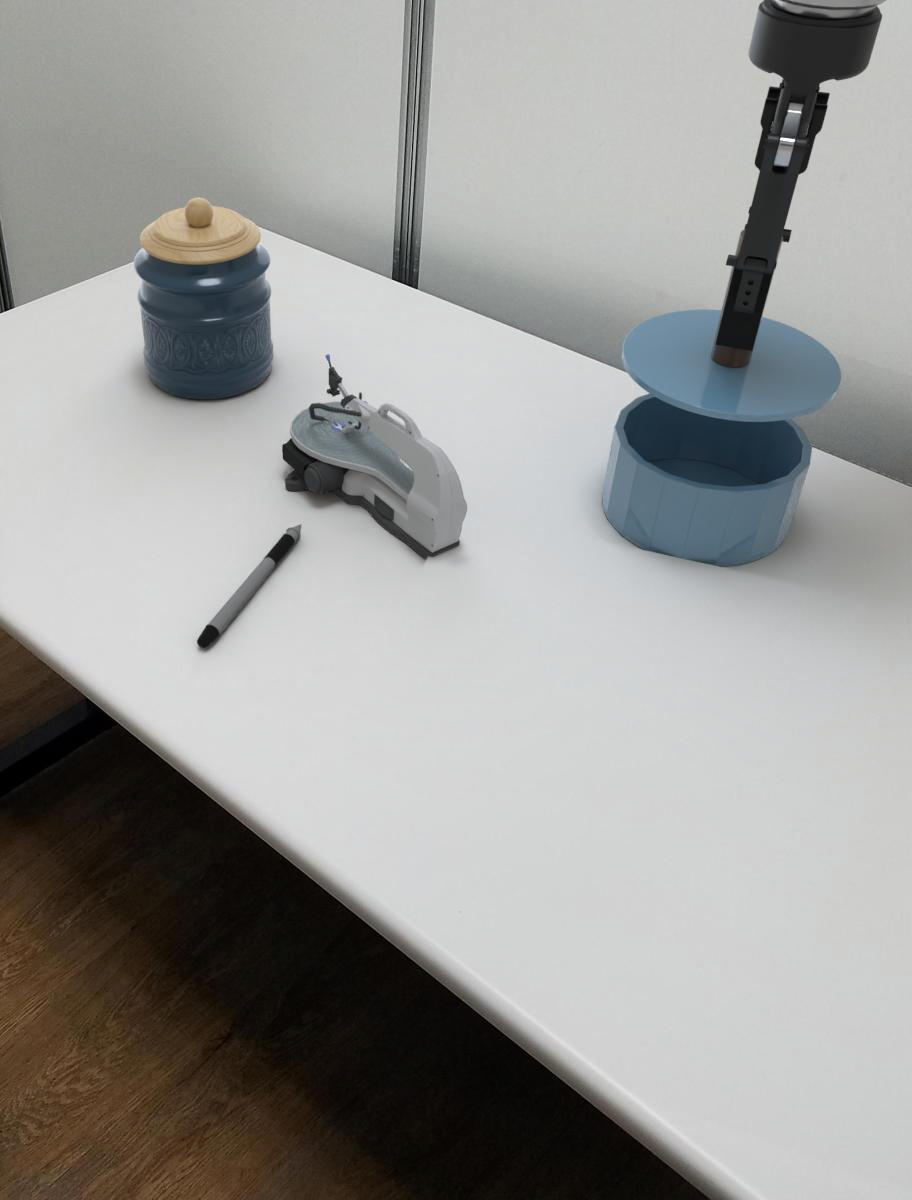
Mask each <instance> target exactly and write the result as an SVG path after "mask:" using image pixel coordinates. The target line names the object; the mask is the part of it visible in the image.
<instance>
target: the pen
mask: <svg viewBox="0 0 912 1200" xmlns="http://www.w3.org/2000/svg"><path fill="white" fill-rule="evenodd" d="M302 525H303V524H302V523H301V524H297V525H295V526H292V527H288V528H287V529H286V530H285V533H283V534H282V536H281V537H280V538H279V539H278V540H277V542H276V543H275V544H274V545H273V547H272V548H271V549H270V550H269V551H268V553H267V554H266V555H265V556H264V557H263V559H262V560H261V561H260V562H259V564H258V565H257V566H256V567H255V568H254V569H253V571H252V572H251V573H250V574H249V575H248V577H246V579H245V580H244V581H243V582H242V583H241V585H240V586H239V587H238V588H237V589H236V591H234V593H233V594H232V596H230V597H229V599H228V600H227V601H226V603H225V604H224V605H223V606H222V607H221V608H220V609H219V611H217V613H216V614H215V615H214V616H213V617H212V618H211V620H209V622H208V623H207V624H206V625H205V627H204V628H203V630H202V632H201V633H200V634H199V637H198V638H197V639H196V643H197V646H198V647H200V648H201V649H207V648H209V646H210V645H212V644H213V643H214V642H215V641H216V640H217V639H218V638H219V637H220V636H221V634H222V633H223V631H224V630H225V629H226V628H227V627H228V625H229V624H230V623H231V622H232V621H233V619H234V618H235V617H236V615H237V614H238V613H239V612H240V611H241V610H242V608H243V607H244V606H245V605H246V603H247V602H248V601H249V600H250V598H251V597H252V596H253V595H254V593H255V592H256V591H257V590H258V588H259V587H260V586H261V585H262V583H264V581H265V580H266V578H267V577H268V576H269V575H270V573H272V571H274V569H275V568H276V567H277V565H278V564H279V563H280V562H281V560H282V559H283V558H284V557H285V556H286V554H287V553H288V552H289V551H290V550H291V549H292V547H293V546H295V544H296V542H297V541H299V540H300V539H301V530H302Z"/></svg>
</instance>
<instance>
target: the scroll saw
mask: <svg viewBox="0 0 912 1200" xmlns="http://www.w3.org/2000/svg"><path fill="white" fill-rule="evenodd" d="M325 359H326V361H327V362H328V365H329V368H328V386H329V388H327V389H326V394H327V395H330V396H332V397H336V396H338V395H342V396H343V398H341V399H340V401H339V400H338V401H336V400H334V401H326V402H314V403H313V402H312V403H311V404H310V405H309V407H306V408H304V409H302V410H301V411H300V412H298V413H297V414H296V415H295V416H294V417H293V419H292V421H291V422H290V427H289V431H290V432H289V434H290V438H289V440H288V441H286V443H283V444H282V447H281V448H282V449H281V452H282V460H283V461H284V462H285V463H286V464H288V465H289V466H290V467H291V468H292V469H293V470H292V471H291V472H290V473H288V474H287V476H286V477H285V478H284V487H285V489H286V490H287V491H290V492H300V491H306V490H310V491H311V492H312V493H315V494H317V495H323V494H324V493H327V492H330V491H331V492H333V493H334V494H335V495H336V496H338V497H339V498H340V499H341V500H342V501H344V502H346V504H349V505H360V506H362V507H363V508H364V510H366V511H367V512H368V513H369V515H370V516H371V517H372V518H373V519H374V520H375V521H376V522H377V523H378V524H379V525H380V526H382V528H383V529H384V530H386V531H387V532H388V533H390V534H391V535H393V536H394V537H396V538H397V539H399V540H400V541H402V542H403V543H405V544H406V545H407V546H408V547H409V548H411V549H412V550H413V551H414V552H416V553H417V554H418V555H419V556H420V557H422V558H423V559H425V560H428V558H429V557H430V558H435V557H436V556H438V555H441V554H443V553H445V552H448V551H449V550H452V549H455V548H456V547H459V546H460V543H461V542H460V537H461V535H462V529H463V522H465V519H466V517H467V512H468V504H467V501H466V499H465V494H464V489H463V487H462V482H461V480H460V477H459V474H458V472H457V469H456V468H455V466H454V465H453V463H452V461H451V460H450V459H449V457H448V455H447V453H446V452H445V451H444V450H443V449H442V448H440V446H438V445H437V444H435V443H434V442H432V441H431V440H430V439H427V437H424V436H423V434H422V433H421V431H420V429H419V427H418V426H417V424H416V422H415V420H414V419H413V418H412V417H411V416H410V415H408V414H407V413H406V412H404V410H402V409H400V408H399V407H397V406H395V405H394V404H392V403H389V402H386V403H383V404H382V405H380V407H379V408H377V407H375V406H373V405H371V404H369V402H368V401H366V400H363V393H362V392H359V393H358V396H356V395H354V394H352V393H351V394H349V392H348V390H347V389H346V387H345V386H344V385H343V382H342V381H343V377H342V376H340V375H339V374H338V372H337V370H336V369H335V367H334V366H332V362H331V354H329V353H328V354H325ZM389 412H390V413H392V414H394V415H395V416H397V417H398V418H400V419H401V420H402V421H403V422H404V424H403V423H402V422H400V421H399V420H397V419H395V418H394V417H392V416H390V415H388V413H389ZM403 462H404V463H405V464H406V465H405V464H404V463H403Z"/></svg>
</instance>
